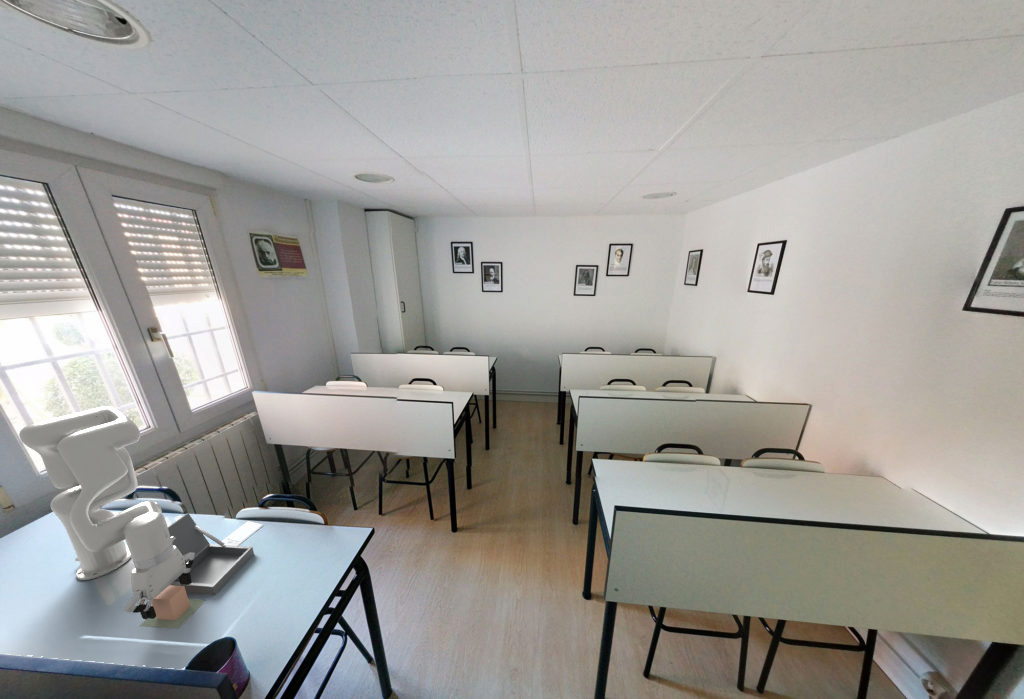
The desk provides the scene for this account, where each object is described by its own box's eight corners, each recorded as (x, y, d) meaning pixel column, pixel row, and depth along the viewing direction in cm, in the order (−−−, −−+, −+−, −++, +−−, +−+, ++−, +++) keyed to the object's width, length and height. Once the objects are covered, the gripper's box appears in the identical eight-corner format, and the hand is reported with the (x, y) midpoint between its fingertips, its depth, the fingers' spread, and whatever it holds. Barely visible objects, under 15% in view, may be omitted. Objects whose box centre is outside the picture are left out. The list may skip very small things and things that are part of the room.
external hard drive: (264, 527, 126) (231, 554, 114) (248, 523, 128) (214, 549, 116) (263, 524, 126) (230, 550, 114) (247, 520, 127) (213, 546, 115)
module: (157, 618, 92) (149, 598, 90) (171, 604, 96) (165, 584, 94) (176, 620, 92) (169, 599, 90) (190, 606, 96) (184, 586, 94)
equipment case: (151, 591, 100) (135, 549, 96) (197, 551, 114) (186, 512, 110) (215, 596, 99) (203, 553, 95) (254, 555, 113) (245, 516, 109)
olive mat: (139, 627, 90) (139, 625, 90) (170, 599, 98) (169, 597, 98) (179, 630, 90) (178, 628, 90) (206, 601, 98) (206, 600, 97)
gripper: (174, 529, 97) (187, 571, 101) (101, 583, 80) (120, 631, 84) (198, 530, 96) (209, 573, 101) (129, 585, 80) (146, 633, 84)
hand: (169, 599), depth 93 cm, fingers open, 9 cm apart
